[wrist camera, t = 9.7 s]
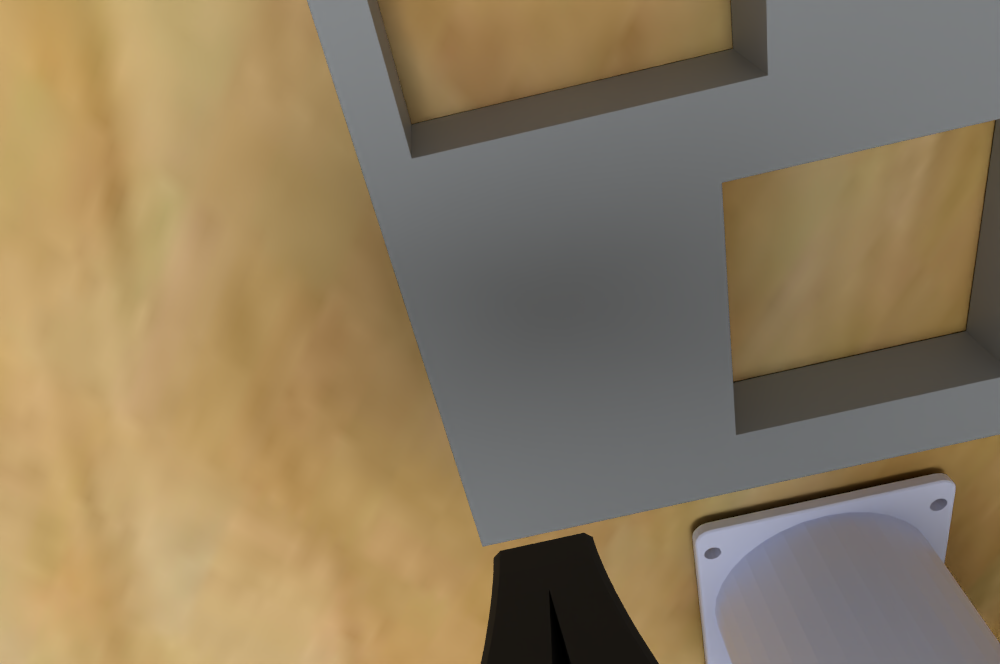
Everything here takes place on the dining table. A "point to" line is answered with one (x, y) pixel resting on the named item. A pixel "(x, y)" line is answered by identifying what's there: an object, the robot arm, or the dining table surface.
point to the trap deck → (661, 258)
